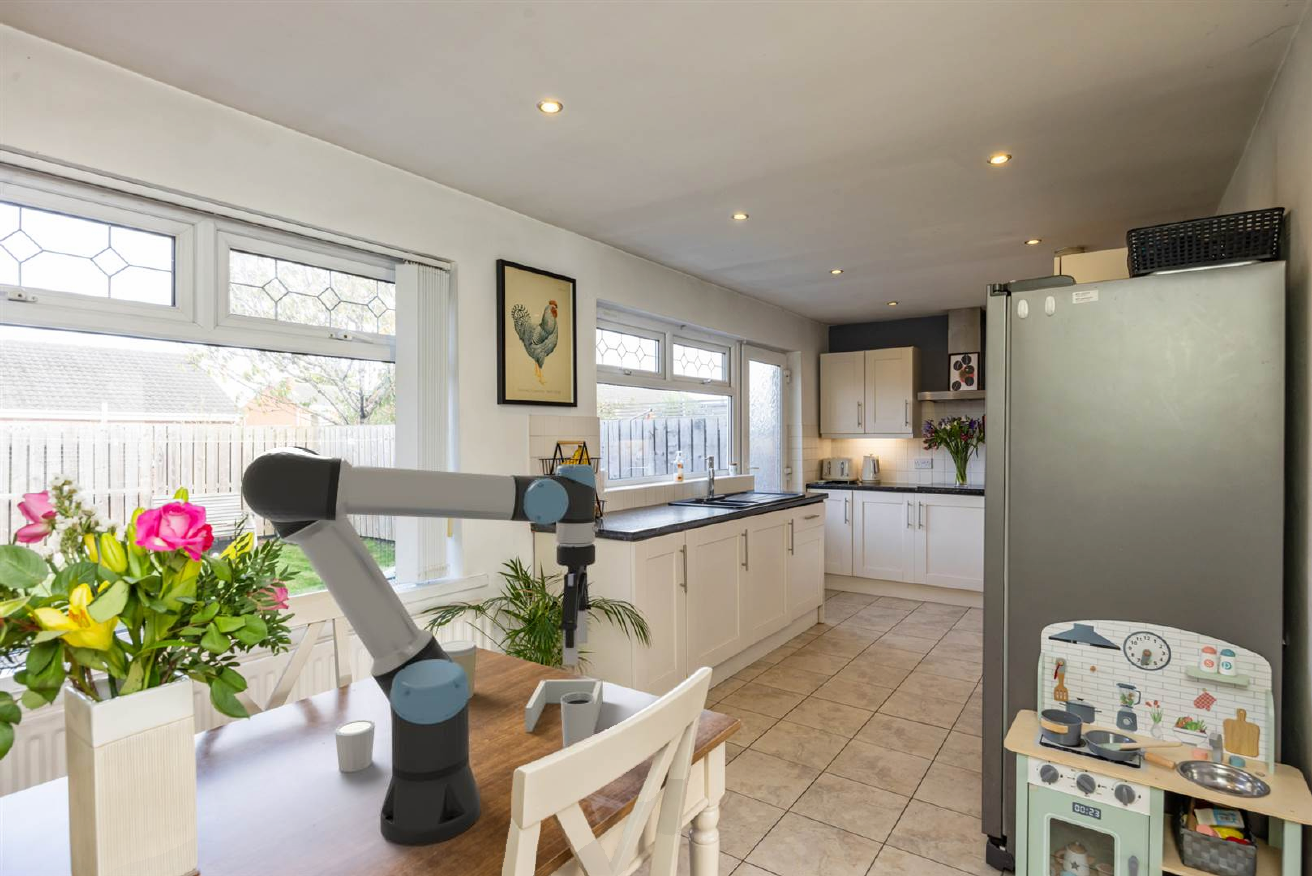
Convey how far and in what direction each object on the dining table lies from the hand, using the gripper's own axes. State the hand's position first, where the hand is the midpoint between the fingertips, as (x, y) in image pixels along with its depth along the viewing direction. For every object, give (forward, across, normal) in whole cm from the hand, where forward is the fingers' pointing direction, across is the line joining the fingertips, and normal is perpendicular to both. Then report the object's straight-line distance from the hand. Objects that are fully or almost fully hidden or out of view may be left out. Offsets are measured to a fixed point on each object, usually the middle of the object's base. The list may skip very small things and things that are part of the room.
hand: (575, 653), depth 130 cm
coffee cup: (+19, +28, +32) cm, 47 cm away
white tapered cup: (+19, -6, +40) cm, 45 cm away
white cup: (+19, 0, 0) cm, 19 cm away
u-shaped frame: (+19, +17, +4) cm, 25 cm away
